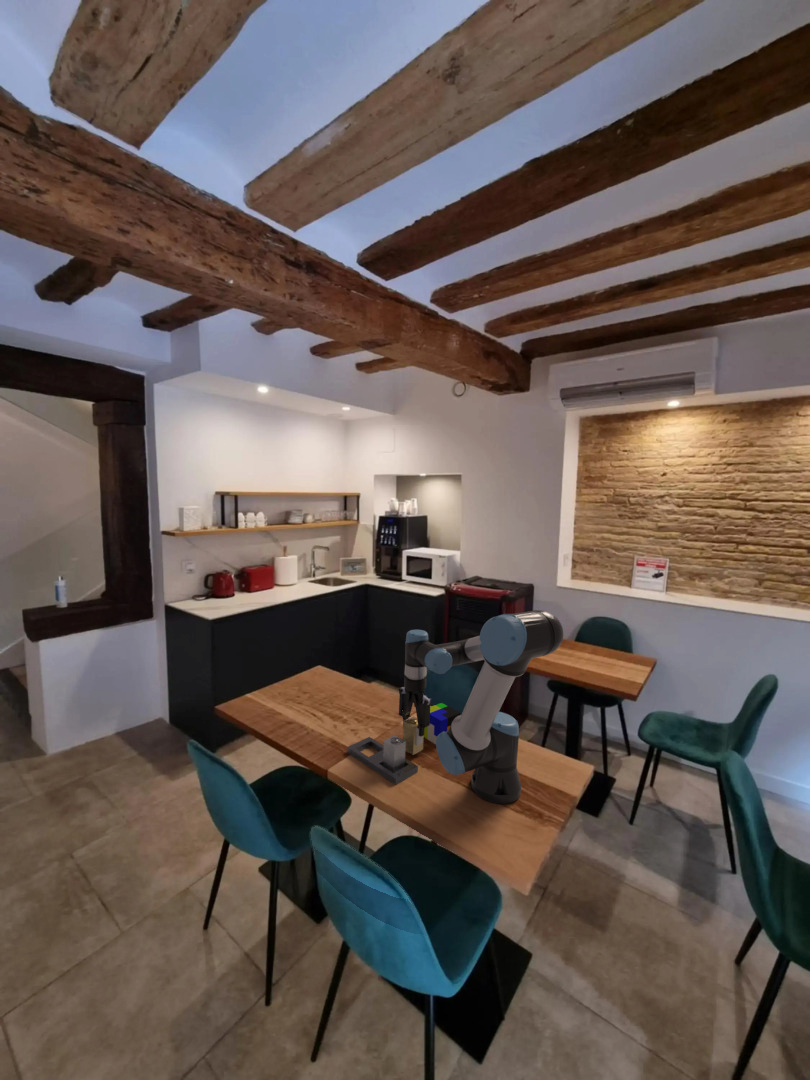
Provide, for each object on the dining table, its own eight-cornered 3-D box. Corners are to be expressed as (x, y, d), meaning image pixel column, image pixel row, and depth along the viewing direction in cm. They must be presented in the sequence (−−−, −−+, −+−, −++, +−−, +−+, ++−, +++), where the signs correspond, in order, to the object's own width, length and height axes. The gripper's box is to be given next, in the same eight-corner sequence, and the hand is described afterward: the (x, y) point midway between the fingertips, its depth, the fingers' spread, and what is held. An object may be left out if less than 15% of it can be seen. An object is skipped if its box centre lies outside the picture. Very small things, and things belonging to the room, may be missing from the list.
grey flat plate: (417, 771, 147) (417, 765, 147) (395, 785, 140) (395, 778, 140) (369, 741, 164) (369, 736, 164) (347, 752, 157) (347, 746, 157)
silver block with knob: (404, 770, 148) (405, 739, 147) (393, 776, 144) (394, 745, 143) (393, 763, 151) (394, 733, 150) (382, 769, 148) (383, 739, 147)
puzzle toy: (439, 747, 162) (441, 720, 161) (421, 735, 170) (422, 710, 169) (459, 738, 169) (460, 712, 168) (440, 727, 176) (441, 702, 175)
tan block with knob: (423, 749, 157) (424, 720, 156) (413, 755, 154) (414, 725, 152) (412, 743, 161) (413, 715, 160) (402, 748, 157) (403, 720, 156)
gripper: (443, 680, 151) (440, 747, 153) (404, 665, 163) (402, 726, 166) (427, 687, 145) (425, 755, 148) (389, 670, 158) (387, 734, 160)
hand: (413, 740), depth 157 cm, fingers closed on tan block with knob, 5 cm apart
